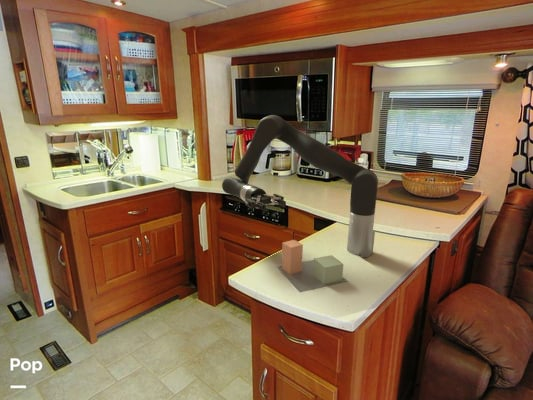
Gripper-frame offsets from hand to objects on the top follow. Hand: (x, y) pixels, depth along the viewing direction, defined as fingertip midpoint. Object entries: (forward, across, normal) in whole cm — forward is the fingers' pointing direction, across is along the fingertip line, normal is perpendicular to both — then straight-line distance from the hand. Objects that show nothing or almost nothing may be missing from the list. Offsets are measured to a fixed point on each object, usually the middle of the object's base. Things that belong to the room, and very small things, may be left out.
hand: (275, 206), depth 124 cm
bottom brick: (+22, +7, +20) cm, 31 cm away
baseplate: (+17, +4, +21) cm, 28 cm away
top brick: (+11, 0, +20) cm, 23 cm away
